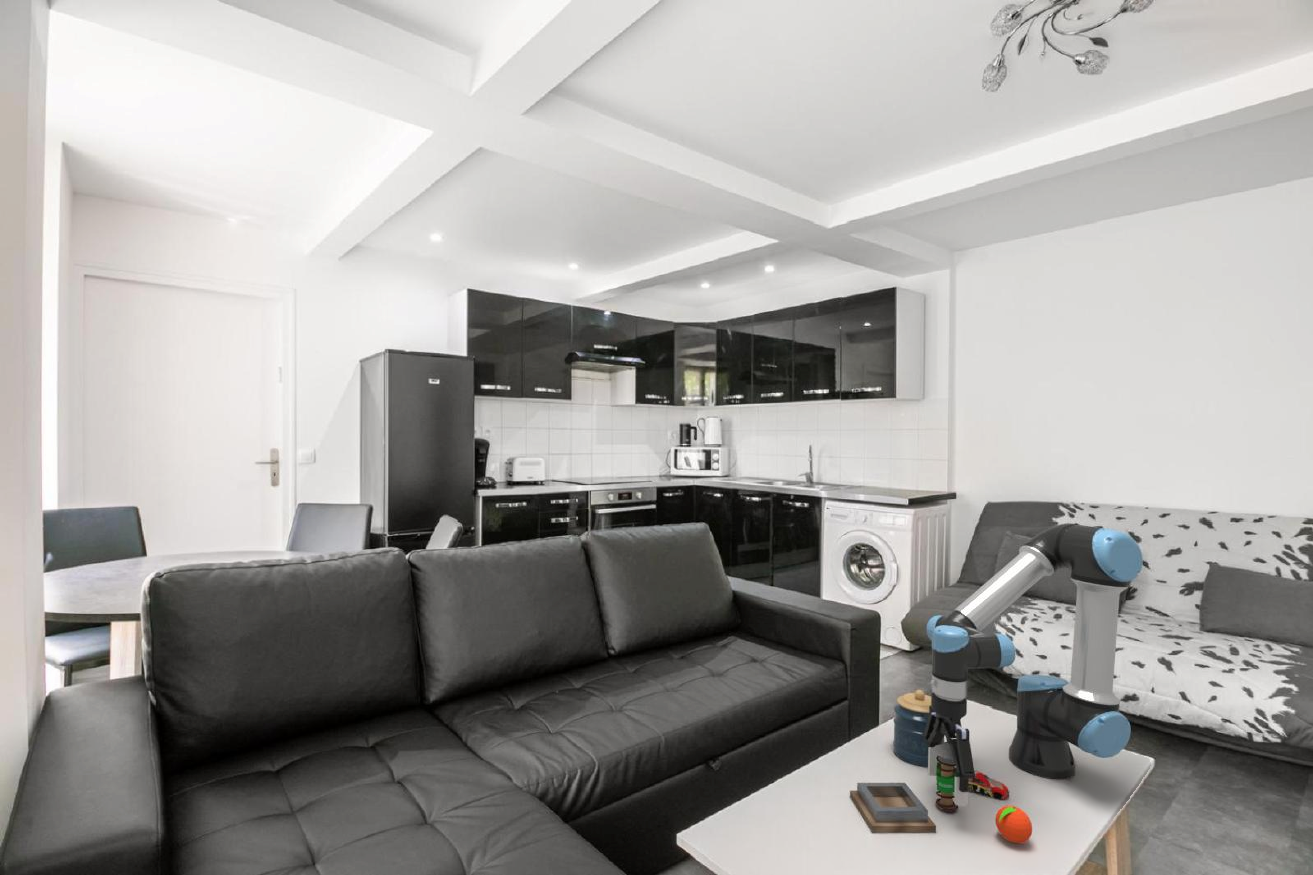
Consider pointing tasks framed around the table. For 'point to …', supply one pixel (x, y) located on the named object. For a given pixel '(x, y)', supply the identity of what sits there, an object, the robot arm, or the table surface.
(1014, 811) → the clementine
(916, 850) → the table surface
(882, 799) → the plate
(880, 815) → the socket collar
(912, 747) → the canister
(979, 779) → the race car
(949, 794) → the shock absorber
